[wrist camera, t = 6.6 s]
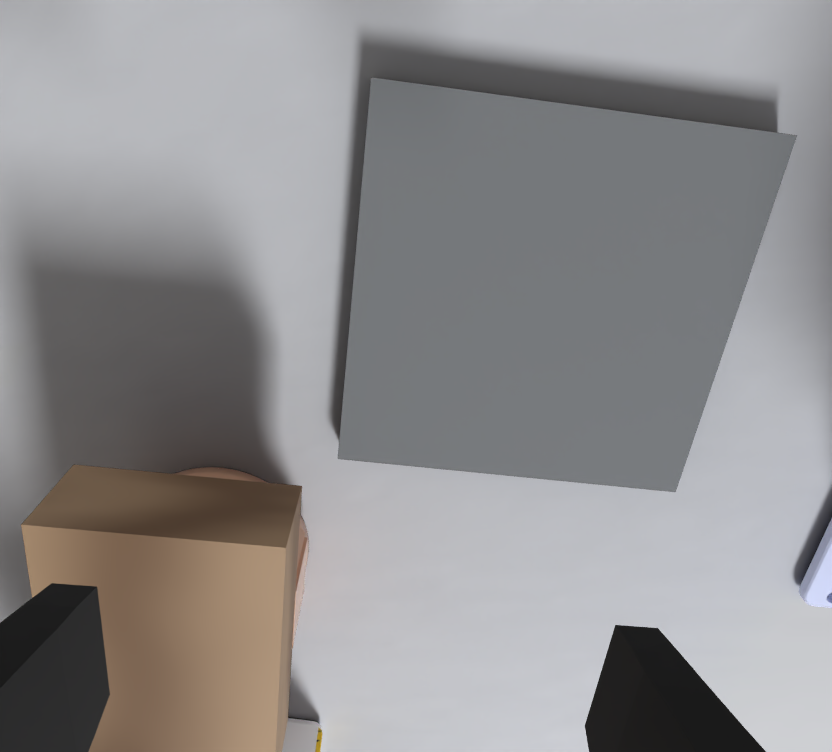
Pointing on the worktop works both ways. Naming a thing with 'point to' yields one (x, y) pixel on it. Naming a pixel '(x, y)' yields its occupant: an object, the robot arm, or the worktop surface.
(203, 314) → the worktop surface
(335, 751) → the worktop surface
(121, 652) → the tan cardboard box
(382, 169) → the mat
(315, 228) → the worktop surface
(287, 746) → the medicine bottle
